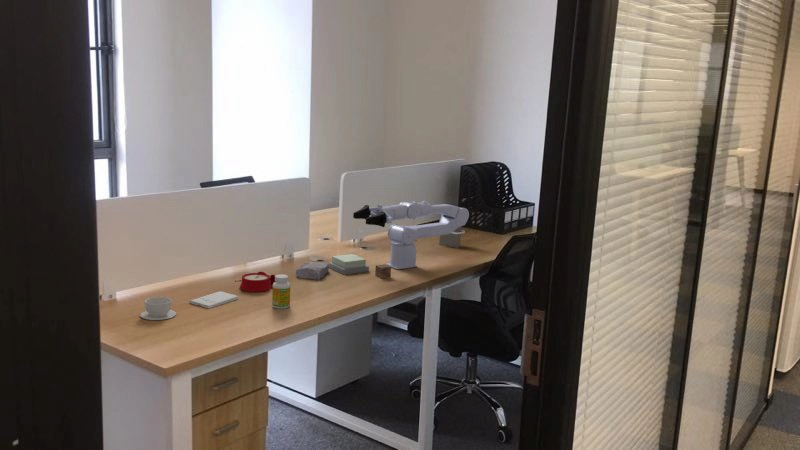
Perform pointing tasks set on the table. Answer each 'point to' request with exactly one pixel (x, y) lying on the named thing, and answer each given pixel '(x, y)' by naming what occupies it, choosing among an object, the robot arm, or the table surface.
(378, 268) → the walnut cube
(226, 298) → the external hard drive
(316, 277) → the stone block
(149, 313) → the teacup
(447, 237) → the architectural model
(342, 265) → the green top slab
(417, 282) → the table surface
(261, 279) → the alarm clock
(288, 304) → the supplement bottle
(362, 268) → the grey base slab
